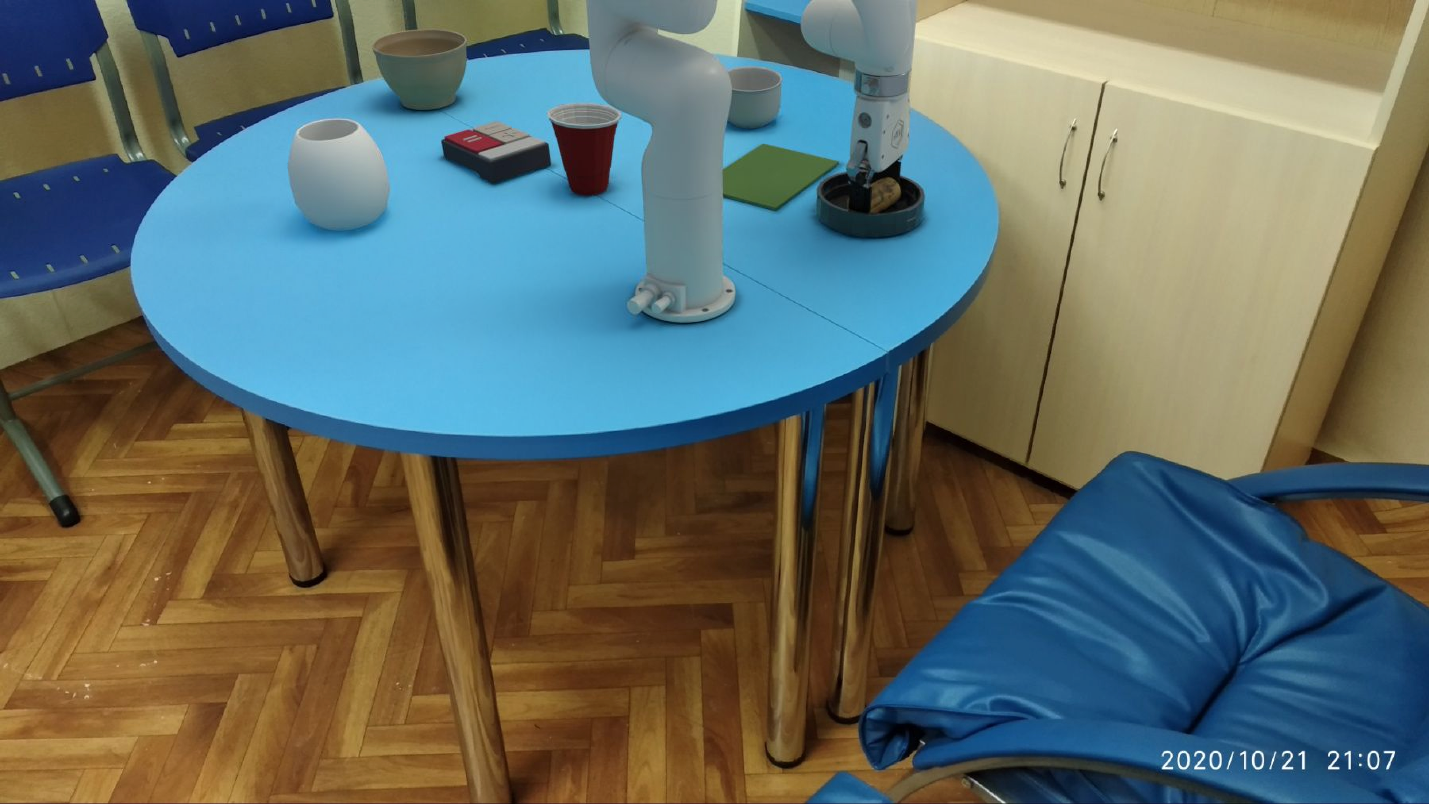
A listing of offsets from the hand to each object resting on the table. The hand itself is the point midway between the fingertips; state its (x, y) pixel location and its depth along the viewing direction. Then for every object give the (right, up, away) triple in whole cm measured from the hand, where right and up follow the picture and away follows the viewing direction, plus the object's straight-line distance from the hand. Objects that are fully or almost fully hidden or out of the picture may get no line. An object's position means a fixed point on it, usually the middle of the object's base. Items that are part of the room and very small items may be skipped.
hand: (874, 198), depth 151 cm
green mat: (-15, +6, +12) cm, 20 cm away
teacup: (-18, +19, +31) cm, 41 cm away
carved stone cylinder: (0, -2, +1) cm, 2 cm away
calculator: (-58, +9, +18) cm, 61 cm away
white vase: (-76, -3, +1) cm, 76 cm away
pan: (-1, -2, +1) cm, 2 cm away
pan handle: (0, +6, +8) cm, 11 cm away
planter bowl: (-75, +25, +40) cm, 88 cm away
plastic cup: (-42, +3, +9) cm, 43 cm away
